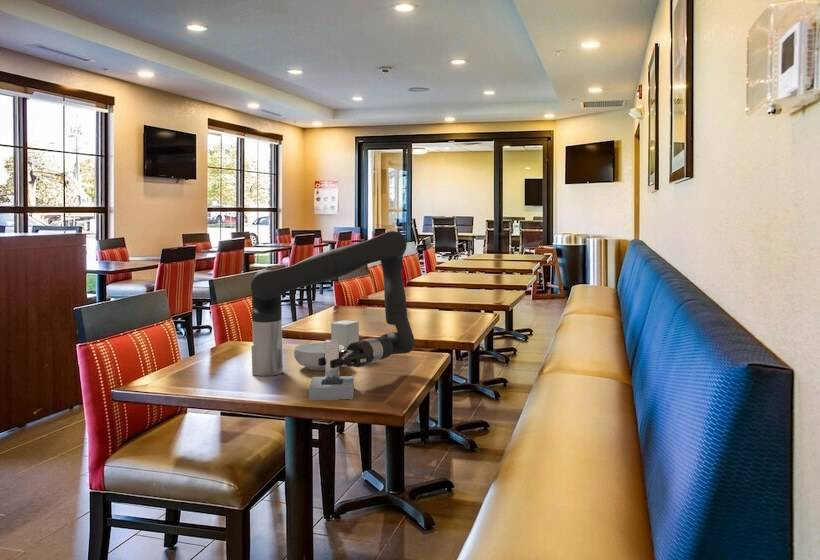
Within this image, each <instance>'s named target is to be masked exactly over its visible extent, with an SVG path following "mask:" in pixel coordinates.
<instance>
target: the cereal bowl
mask: <svg viewBox="0 0 820 560" xmlns="http://www.w3.org/2000/svg"><path fill="white" fill-rule="evenodd" d="M344 349H345V348H344V346H342V345H339V351H341V350H344ZM324 354H325V344H324V342H315V343H304V344H299V345H296V346H295V347H293V355H294V359H295V361H296V362H297V363H298V365H300V366H303V367H306V369H308V370H309V369H310V370H309V371H325V365H323V366H319V365H318V359H319V358H322V357H324Z"/></svg>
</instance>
